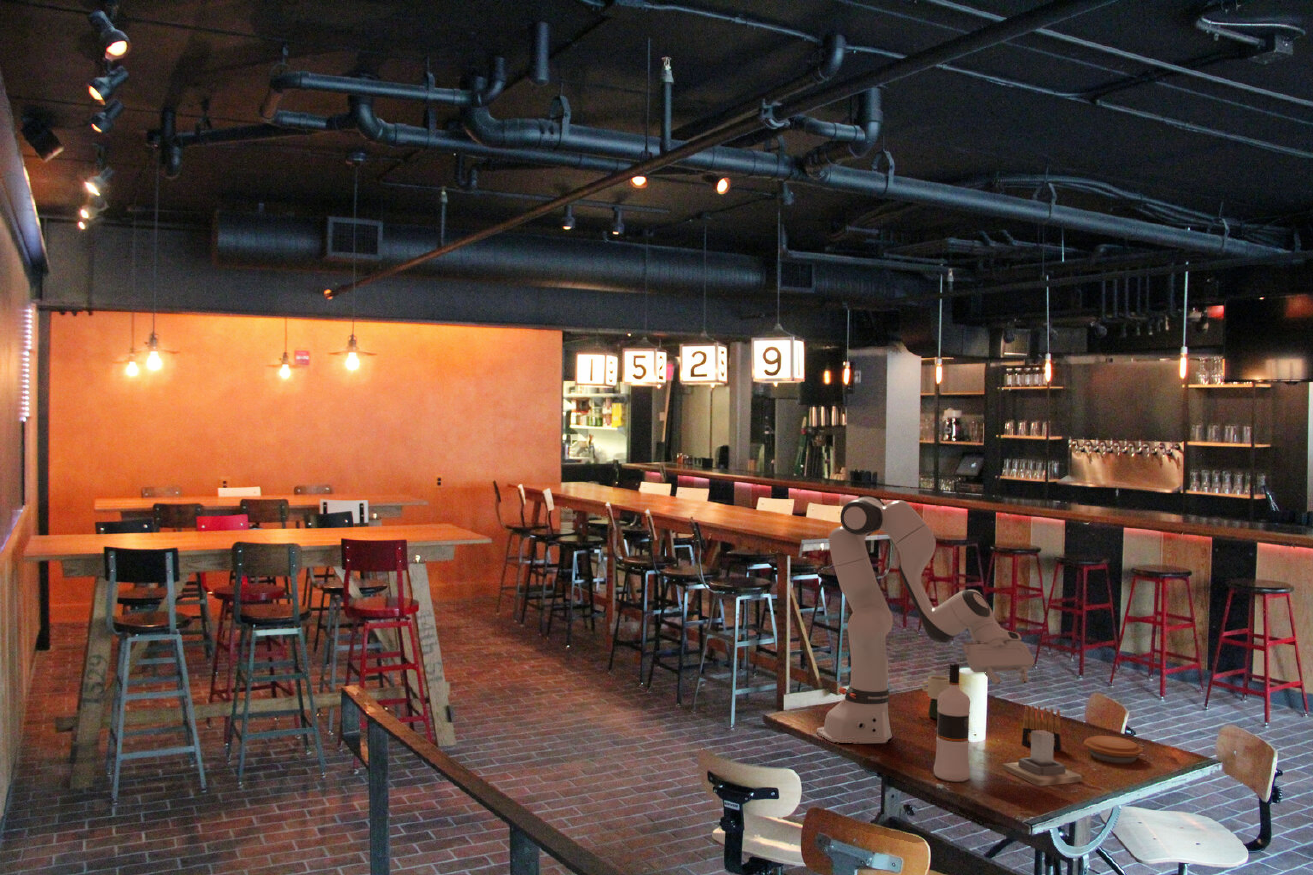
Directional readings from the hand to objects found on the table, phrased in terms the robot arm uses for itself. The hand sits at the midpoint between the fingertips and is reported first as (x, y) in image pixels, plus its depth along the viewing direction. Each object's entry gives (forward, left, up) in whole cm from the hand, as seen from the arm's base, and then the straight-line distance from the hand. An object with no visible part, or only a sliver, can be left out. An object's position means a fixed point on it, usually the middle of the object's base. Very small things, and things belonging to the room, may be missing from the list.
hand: (1011, 682), depth 279 cm
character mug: (+7, +43, -22) cm, 49 cm away
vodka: (-25, -8, -22) cm, 34 cm away
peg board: (0, -13, -22) cm, 25 cm away
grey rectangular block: (0, -13, -20) cm, 24 cm away
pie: (+32, -5, -22) cm, 39 cm away
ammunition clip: (+18, +8, -22) cm, 30 cm away
